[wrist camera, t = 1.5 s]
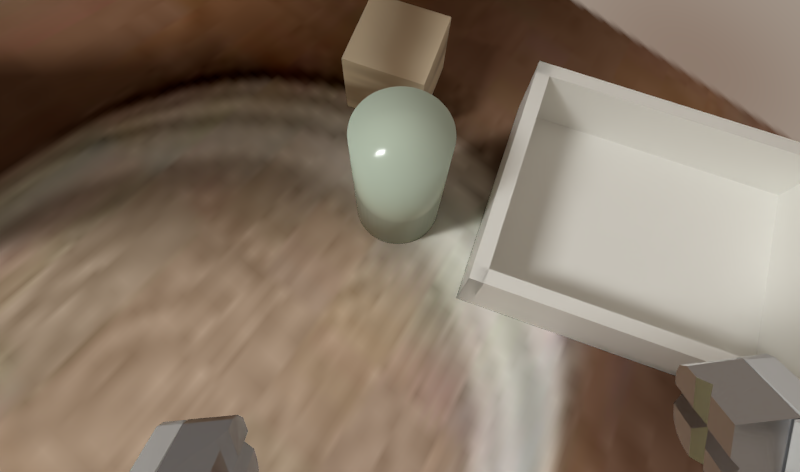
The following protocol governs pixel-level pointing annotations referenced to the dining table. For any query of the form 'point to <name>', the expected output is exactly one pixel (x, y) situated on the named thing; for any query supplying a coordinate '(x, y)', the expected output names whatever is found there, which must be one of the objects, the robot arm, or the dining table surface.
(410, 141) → the sage cylinder
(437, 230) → the dining table surface
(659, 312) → the tote
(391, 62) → the beech cube
